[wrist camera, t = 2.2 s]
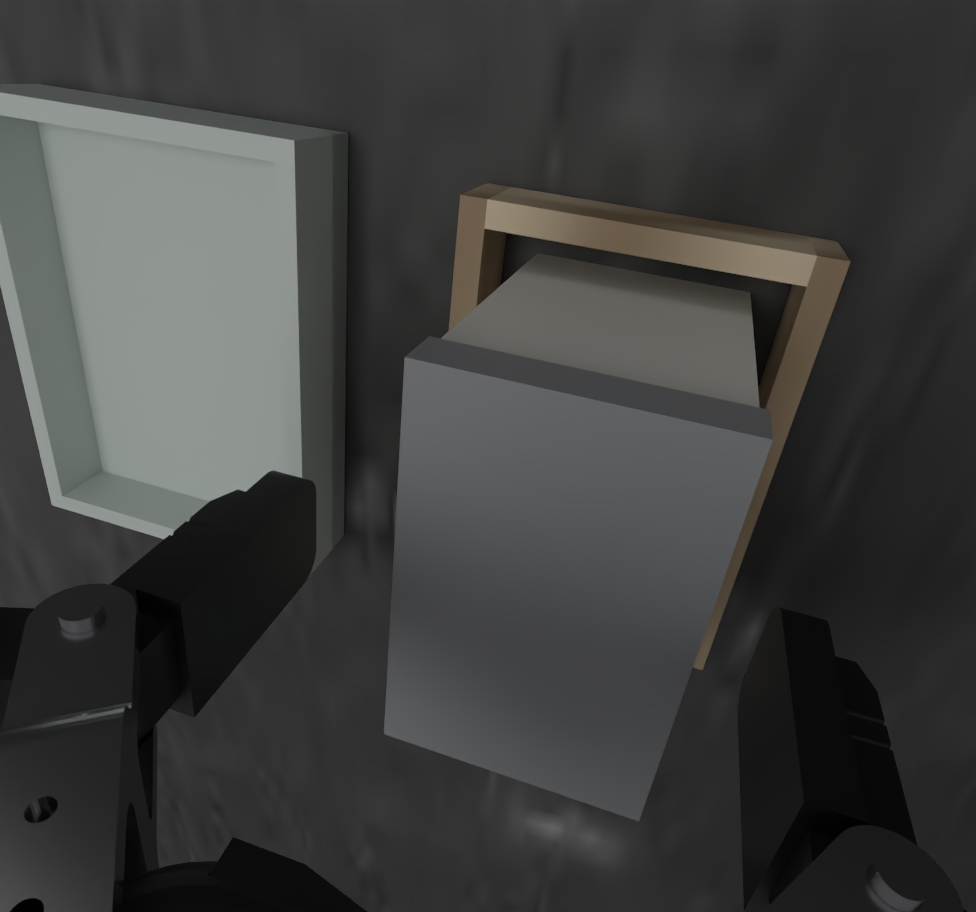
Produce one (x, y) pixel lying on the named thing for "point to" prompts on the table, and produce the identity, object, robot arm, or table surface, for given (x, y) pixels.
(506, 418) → the gray rectangular box
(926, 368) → the table surface
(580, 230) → the holder
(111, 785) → the robot arm
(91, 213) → the tray
